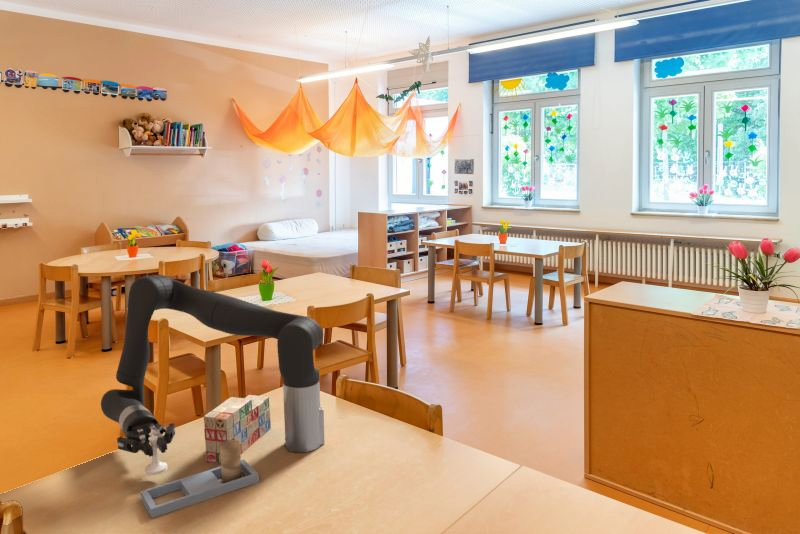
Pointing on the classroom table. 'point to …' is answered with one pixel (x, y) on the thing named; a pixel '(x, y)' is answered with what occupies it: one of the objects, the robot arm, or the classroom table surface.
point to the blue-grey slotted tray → (196, 489)
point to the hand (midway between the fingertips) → (157, 450)
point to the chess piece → (155, 458)
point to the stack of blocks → (236, 424)
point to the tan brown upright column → (230, 460)
